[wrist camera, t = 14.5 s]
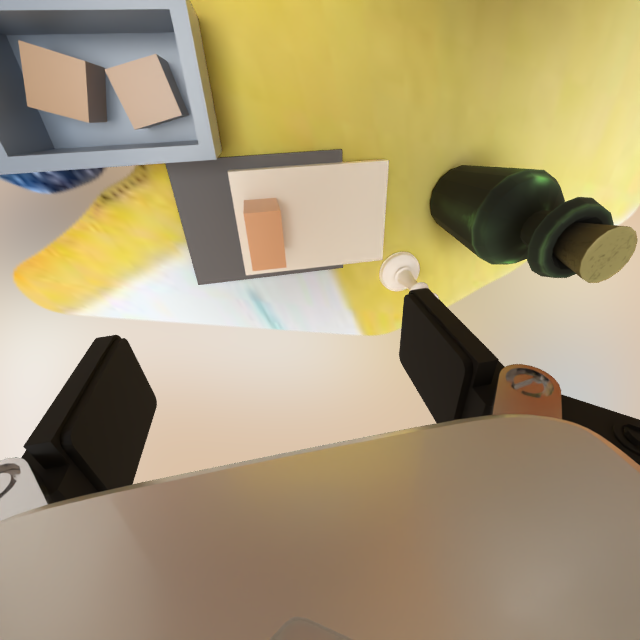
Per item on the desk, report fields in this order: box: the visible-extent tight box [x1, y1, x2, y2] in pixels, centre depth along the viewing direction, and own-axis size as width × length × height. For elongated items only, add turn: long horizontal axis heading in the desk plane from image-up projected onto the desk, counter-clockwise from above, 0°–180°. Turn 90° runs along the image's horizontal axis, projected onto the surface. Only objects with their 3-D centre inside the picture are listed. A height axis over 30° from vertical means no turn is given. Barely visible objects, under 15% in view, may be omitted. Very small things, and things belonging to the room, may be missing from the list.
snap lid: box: [228, 159, 389, 275], centre depth 31 cm, size 15×10×6 cm, turn 92°
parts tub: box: [0, 0, 222, 175], centre depth 23 cm, size 14×9×7 cm, turn 93°
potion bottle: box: [430, 165, 637, 283], centre depth 28 cm, size 8×8×18 cm
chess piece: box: [379, 252, 439, 299], centre depth 35 cm, size 5×5×10 cm
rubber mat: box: [165, 149, 343, 285], centre depth 33 cm, size 16×12×1 cm
